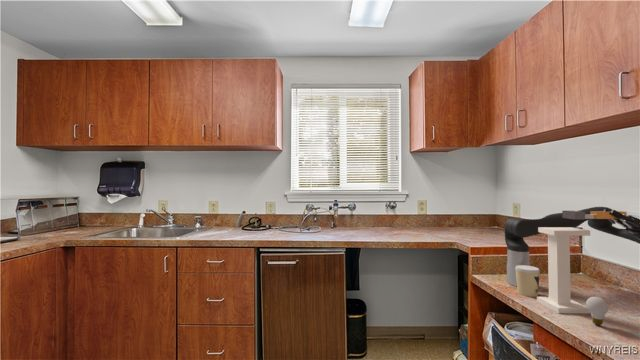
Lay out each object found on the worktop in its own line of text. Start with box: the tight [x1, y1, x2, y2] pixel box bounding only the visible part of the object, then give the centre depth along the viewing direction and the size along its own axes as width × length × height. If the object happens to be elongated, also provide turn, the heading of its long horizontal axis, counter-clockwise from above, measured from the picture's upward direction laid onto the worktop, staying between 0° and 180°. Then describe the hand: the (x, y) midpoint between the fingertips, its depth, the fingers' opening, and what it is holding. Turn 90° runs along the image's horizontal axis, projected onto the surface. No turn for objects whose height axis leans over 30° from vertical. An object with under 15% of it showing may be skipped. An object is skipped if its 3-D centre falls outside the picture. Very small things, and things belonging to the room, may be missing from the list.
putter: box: [561, 210, 628, 219], centre depth 123 cm, size 6×22×3 cm, turn 89°
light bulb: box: [585, 296, 610, 327], centre depth 107 cm, size 6×6×10 cm
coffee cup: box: [515, 265, 541, 298], centre depth 138 cm, size 9×9×12 cm
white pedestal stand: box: [536, 227, 591, 314], centre depth 123 cm, size 12×14×32 cm
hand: (608, 211), depth 123 cm, fingers closed on putter, 2 cm apart
